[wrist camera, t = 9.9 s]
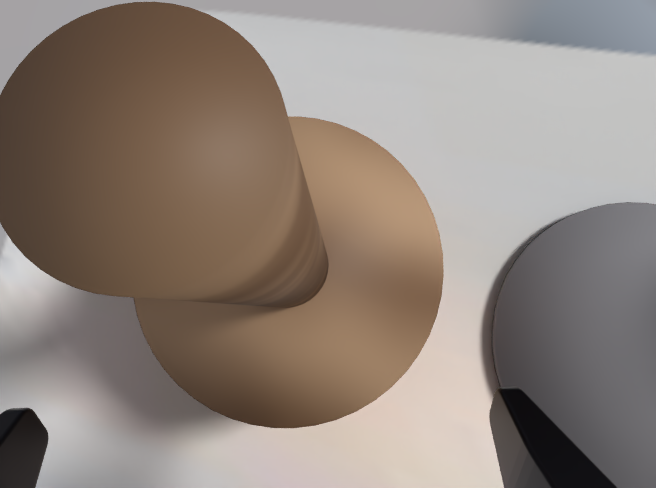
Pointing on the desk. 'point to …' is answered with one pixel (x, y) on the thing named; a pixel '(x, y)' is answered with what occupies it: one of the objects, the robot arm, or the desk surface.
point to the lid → (218, 214)
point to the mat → (588, 335)
